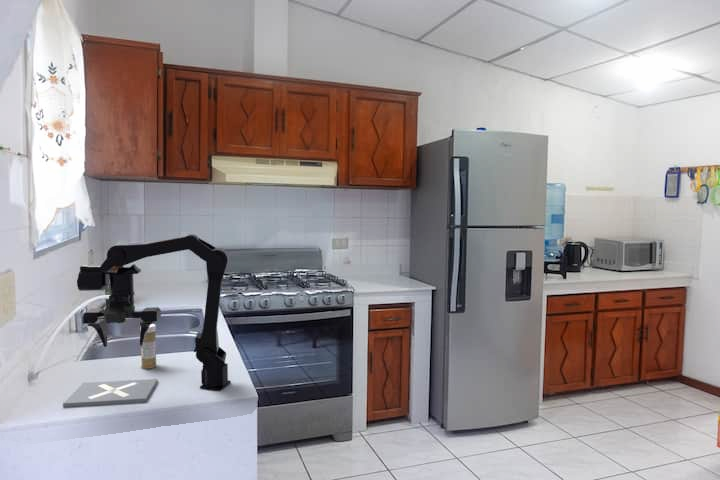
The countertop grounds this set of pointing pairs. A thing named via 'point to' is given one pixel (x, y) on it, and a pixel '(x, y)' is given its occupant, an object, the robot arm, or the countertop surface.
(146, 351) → the sprinkles bottle
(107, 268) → the robot arm
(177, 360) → the countertop surface
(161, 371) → the countertop surface
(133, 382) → the board
